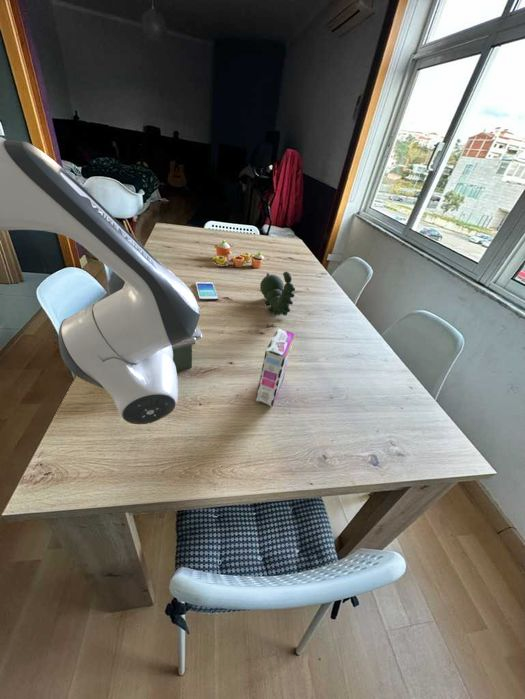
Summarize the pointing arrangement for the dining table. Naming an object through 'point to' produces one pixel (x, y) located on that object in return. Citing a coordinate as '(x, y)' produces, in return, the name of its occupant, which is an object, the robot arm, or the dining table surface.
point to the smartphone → (206, 291)
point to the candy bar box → (274, 366)
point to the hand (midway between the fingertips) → (142, 307)
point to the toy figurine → (277, 293)
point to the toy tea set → (235, 257)
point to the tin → (182, 357)
